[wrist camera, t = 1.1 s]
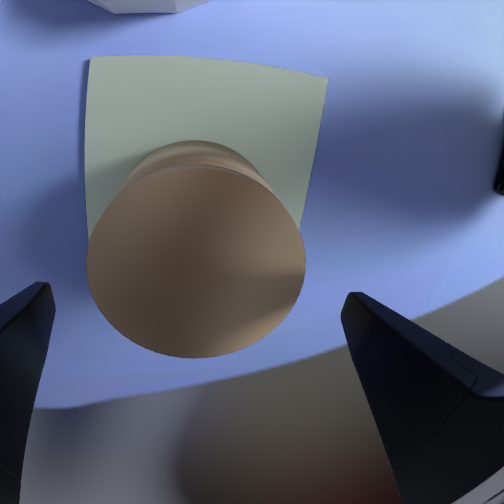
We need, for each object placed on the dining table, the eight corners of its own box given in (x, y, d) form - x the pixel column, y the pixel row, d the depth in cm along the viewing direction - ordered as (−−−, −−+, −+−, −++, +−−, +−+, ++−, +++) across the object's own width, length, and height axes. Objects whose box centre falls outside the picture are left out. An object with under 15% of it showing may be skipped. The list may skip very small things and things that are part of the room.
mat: (325, 78, 12) (328, 78, 12) (279, 303, 18) (281, 308, 17) (93, 57, 10) (90, 56, 10) (98, 298, 16) (96, 302, 15)
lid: (282, 148, 13) (327, 181, 9) (258, 285, 16) (282, 356, 12) (117, 137, 12) (77, 165, 7) (121, 280, 15) (102, 353, 11)
